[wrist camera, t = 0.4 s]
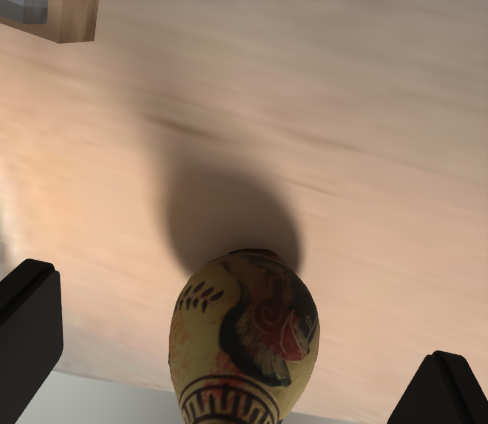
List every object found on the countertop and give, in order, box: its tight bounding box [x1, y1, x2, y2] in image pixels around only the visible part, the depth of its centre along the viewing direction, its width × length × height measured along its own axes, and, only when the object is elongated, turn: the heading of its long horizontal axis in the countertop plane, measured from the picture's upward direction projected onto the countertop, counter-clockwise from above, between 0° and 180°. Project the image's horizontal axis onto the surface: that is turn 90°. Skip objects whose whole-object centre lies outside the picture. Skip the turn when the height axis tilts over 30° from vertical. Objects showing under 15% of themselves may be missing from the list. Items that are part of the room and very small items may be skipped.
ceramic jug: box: [168, 249, 320, 424], centre depth 33 cm, size 17×15×30 cm
